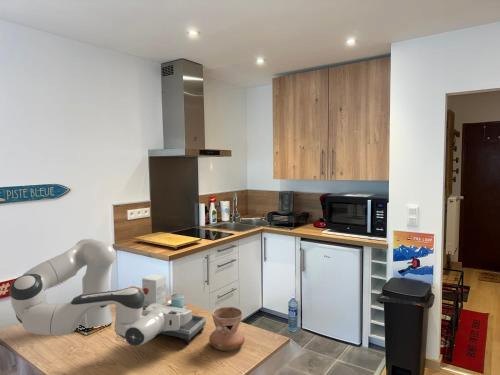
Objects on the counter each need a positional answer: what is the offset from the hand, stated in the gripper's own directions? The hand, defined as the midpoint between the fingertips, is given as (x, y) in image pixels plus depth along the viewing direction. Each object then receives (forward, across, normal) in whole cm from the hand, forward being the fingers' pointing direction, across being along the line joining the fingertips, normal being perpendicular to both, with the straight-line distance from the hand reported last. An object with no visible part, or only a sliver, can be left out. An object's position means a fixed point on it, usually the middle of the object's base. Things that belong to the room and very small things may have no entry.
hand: (178, 306), depth 153 cm
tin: (-1, 0, -6) cm, 6 cm away
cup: (+13, -12, -13) cm, 22 cm away
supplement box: (+23, -30, -13) cm, 40 cm away
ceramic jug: (-1, +24, -13) cm, 27 cm away
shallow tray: (-1, 0, -12) cm, 13 cm away
